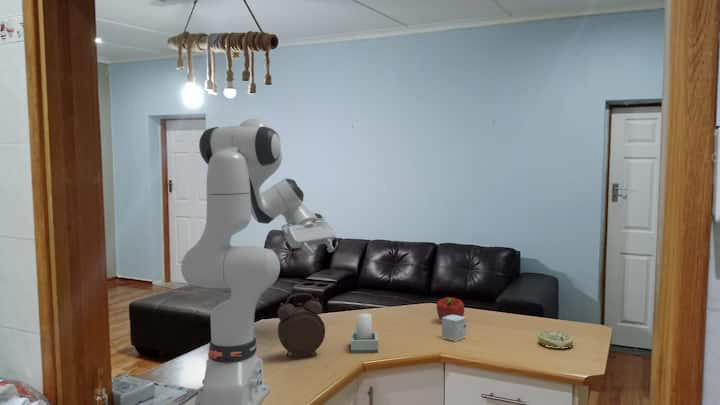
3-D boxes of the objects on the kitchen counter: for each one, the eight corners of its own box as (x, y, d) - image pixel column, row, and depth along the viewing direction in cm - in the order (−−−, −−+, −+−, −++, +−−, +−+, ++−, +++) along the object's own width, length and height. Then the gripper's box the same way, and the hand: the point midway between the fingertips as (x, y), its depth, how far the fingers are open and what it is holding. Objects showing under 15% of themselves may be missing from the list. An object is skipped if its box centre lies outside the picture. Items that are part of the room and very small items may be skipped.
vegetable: (463, 327, 192) (463, 300, 192) (435, 325, 195) (435, 299, 194) (464, 319, 203) (464, 293, 202) (437, 317, 205) (437, 292, 205)
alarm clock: (319, 348, 172) (318, 288, 170) (326, 356, 165) (325, 293, 163) (275, 355, 166) (274, 293, 165) (280, 363, 160) (279, 298, 158)
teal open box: (377, 352, 167) (377, 340, 167) (351, 353, 167) (350, 340, 167) (376, 343, 176) (376, 331, 176) (351, 343, 176) (351, 332, 176)
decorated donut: (565, 353, 166) (565, 341, 165) (532, 345, 173) (532, 334, 173) (577, 344, 173) (577, 333, 173) (545, 337, 180) (545, 327, 180)
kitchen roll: (372, 347, 169) (371, 317, 168) (356, 348, 169) (356, 317, 168) (371, 342, 174) (371, 312, 173) (356, 342, 174) (356, 313, 173)
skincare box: (455, 342, 177) (455, 320, 176) (441, 338, 181) (441, 317, 181) (466, 338, 181) (466, 317, 180) (452, 334, 185) (452, 313, 185)
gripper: (284, 218, 175) (305, 250, 169) (325, 214, 190) (346, 243, 185) (275, 231, 178) (296, 263, 172) (317, 225, 194) (337, 254, 188)
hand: (322, 252), depth 179 cm, fingers open, 8 cm apart
